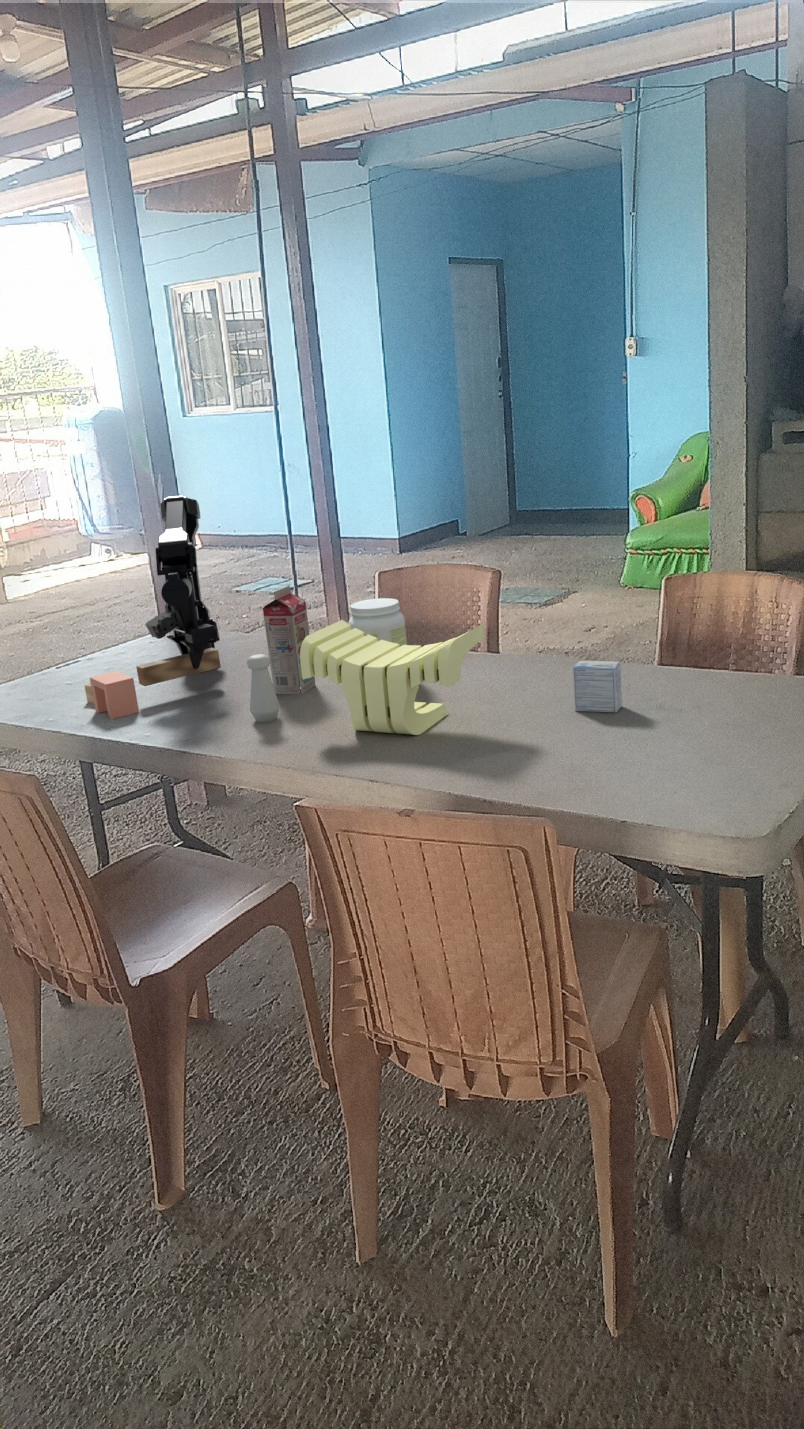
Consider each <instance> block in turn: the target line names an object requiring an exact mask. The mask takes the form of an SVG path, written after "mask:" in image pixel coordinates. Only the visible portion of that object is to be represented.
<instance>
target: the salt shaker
mask: <svg viewBox="0 0 804 1429" xmlns="http://www.w3.org/2000/svg"><path fill="white" fill-rule="evenodd" d="M246 661H247V662H246V664H247V668H248V669H249V670H251V679H250V680H251V681H250V683H251V684H250V697H249V698H250V699H249V711H250V714H251V715H252V716H253V718H254V720H255V721H256V723H262V724H265V723H270V722H271V723H272V722H274V721H275V720H276V719H278V715H279V712H280V708H281V707H280V703H279V698H278V697H277V694H276V693H275V690H274V687H273V683H272V676H271V675H270V671H269V669H268V667H269V666H270V660H269V655H266V654H263V653H260V654H259V653H258V654H253V655H251V656H249V657H248V658H247V660H246Z"/></svg>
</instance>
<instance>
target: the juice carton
mask: <svg viewBox="0 0 804 1429" xmlns="http://www.w3.org/2000/svg"><path fill="white" fill-rule="evenodd" d="M290 586H291V585H288V586H285V587H282V588H279V589H278V590H275V591H274V592H273V597H274V600H272V601H271V602H269V603H267V604H266V605H264V606H263V607H262V614H263V620H264V628H265V635H266V636H265V637H266V643H267V651H268V657H269V660H270V665H269V666H270V673H271V675H270V676H271V681H272V684H273V687H274V690H275V693H276V695H303V694H304V693H307V692H308V691H310V690H311V689H313V688H314V687H315V685H316V679H315V678H316V677H315V676H313V677H311V678H307V679H302V670H301V662H300V649H301V645H302V642H303V640H304V639H305V638H306V636H308V635H310V627H309V619H308V612H307V610H308V609H307V603H306V600H305V599H303V598H302V597H300V596H297V595H296V594H294V593H292V591H291V587H290ZM300 687H301V689H300Z"/></svg>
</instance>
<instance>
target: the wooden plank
mask: <svg viewBox="0 0 804 1429" xmlns="http://www.w3.org/2000/svg"><path fill="white" fill-rule="evenodd" d="M220 665H221V660H220V653H219V649H217V648H215V649H214V648H209V649H205V650H204V653H203V656H202V659H201V662H200V666H199V668H198V669H194V668H193V665H192V663H191V659H190V656H189V653H188V654H184V655H181V654H180V655H176V656H173V657H168V658H163V659H160V660H157V661H155V660H154V661H151V662H148V663H143V664H139V665H136V672H137V677H138V678H137V679H138V683H139V685H141V686H143V687H148V686H152V685H155V684H160V683H163V682H167V681H172V680H175V679H180V678H184V677H186V676H187V677H188V676H191V675H195V674H199V673H203V672H207V671H211V670H215V669H218V668H222V667H221V666H220Z"/></svg>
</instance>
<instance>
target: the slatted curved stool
mask: <svg viewBox="0 0 804 1429" xmlns="http://www.w3.org/2000/svg"><path fill="white" fill-rule="evenodd" d="M484 624H485V623H484V622H483V623H481V624H479V625H478V626H476V627H475V628H473V629H471V630H469V631H467V632H464V633H463V634H461V635H459V636H456V637H453V638H450V639H447V640H446V641H440V642H436V643H431V644H430V643H429V644H425V645H424V646H422V645H411V644H407V645H402V646H401V647H400V646H399V644H397V643H392V642H388V641H385V640H380V641H378V640H377V638H376V637H374V636H371V635H369V634H368V635H366V636H364V632H362V631H361V630H359V629H357V628H354V629H352V630H351V625H350V624H348V622H347V621H345V620H343V619H340V620H339V621H338V620H337V621H336V622H334V623H332V624H330V625H327V626H325V627H323V628H321V629H319V630H316V631H314V632H312V633H309V635H308V636H306V638H305V639H304V640H303V642H302V645H301V649H300V662H301V670H302V679H307V678H311V677H313V676H314V677H315V678H323V679H324V678H326V677H328V678H327V679H328V680H330V681H332V682H333V683H335V684H337V685H340V684H341V686H342V692H343V695H344V698H345V700H346V702H347V706H348V707H349V711H350V715H351V721H352V726H353V730H354V731H360V732H361V731H362V732H376V733H388V734H399V735H413V736H419V735H421V734H423V733H424V732H426V731H427V730H428V729H430V728H431V727H432V726H434V725H435V724H436V723H438V722H439V721H440V720H443V718H445V717H447V715H449V714H450V713H449V711H448V709H447V707H446V705H445V704H444V703H439V702H438V703H437V702H429V704H427V702H420V701H416V697H417V693H418V691H419V688H420V685H421V684H423V683H425V684H437V683H438V682H439V685H440V686H444V687H447V688H452V686H455V685H456V684H458V682H461V672H462V665H463V662H464V659H465V658H466V656H467V654H469V652H470V651H471V650H472V649H473V648H474V647H475V645H477V644H479V643H480V642H481V641H482V640H484V639H485V625H484Z"/></svg>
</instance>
